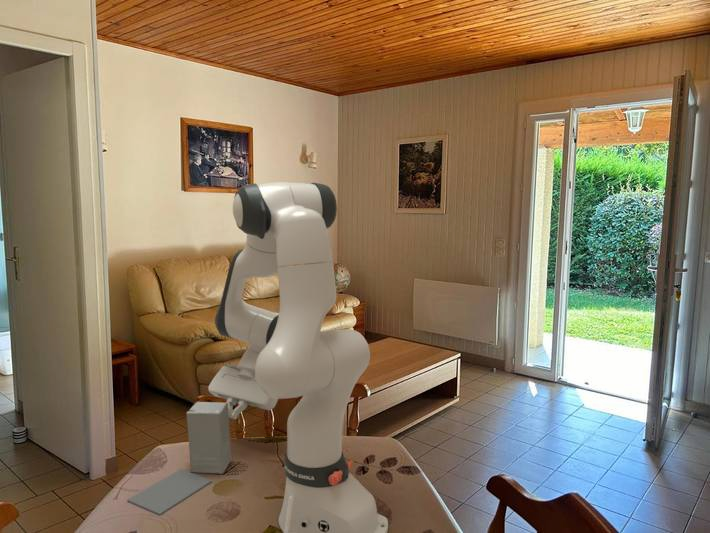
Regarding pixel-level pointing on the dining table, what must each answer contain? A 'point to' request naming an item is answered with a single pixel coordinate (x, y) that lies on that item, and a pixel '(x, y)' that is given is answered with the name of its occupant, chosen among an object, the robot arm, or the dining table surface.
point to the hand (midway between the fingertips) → (229, 417)
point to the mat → (169, 491)
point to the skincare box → (209, 437)
